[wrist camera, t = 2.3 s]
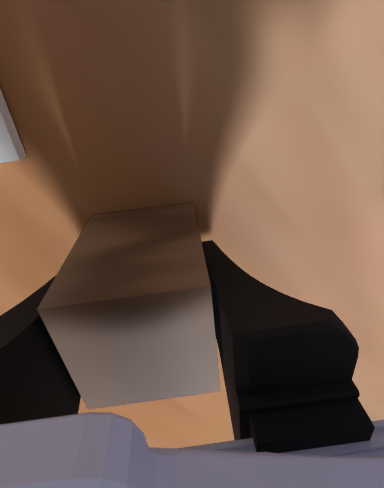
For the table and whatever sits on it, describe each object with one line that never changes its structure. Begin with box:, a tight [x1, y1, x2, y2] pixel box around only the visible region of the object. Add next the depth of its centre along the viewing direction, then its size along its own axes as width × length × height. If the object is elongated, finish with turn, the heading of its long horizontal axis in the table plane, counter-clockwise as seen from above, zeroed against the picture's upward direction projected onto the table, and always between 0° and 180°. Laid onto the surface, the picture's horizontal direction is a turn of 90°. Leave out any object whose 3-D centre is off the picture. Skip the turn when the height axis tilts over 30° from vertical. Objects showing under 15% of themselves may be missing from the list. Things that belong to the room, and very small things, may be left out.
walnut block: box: [37, 202, 221, 409], centre depth 11 cm, size 4×4×6 cm
